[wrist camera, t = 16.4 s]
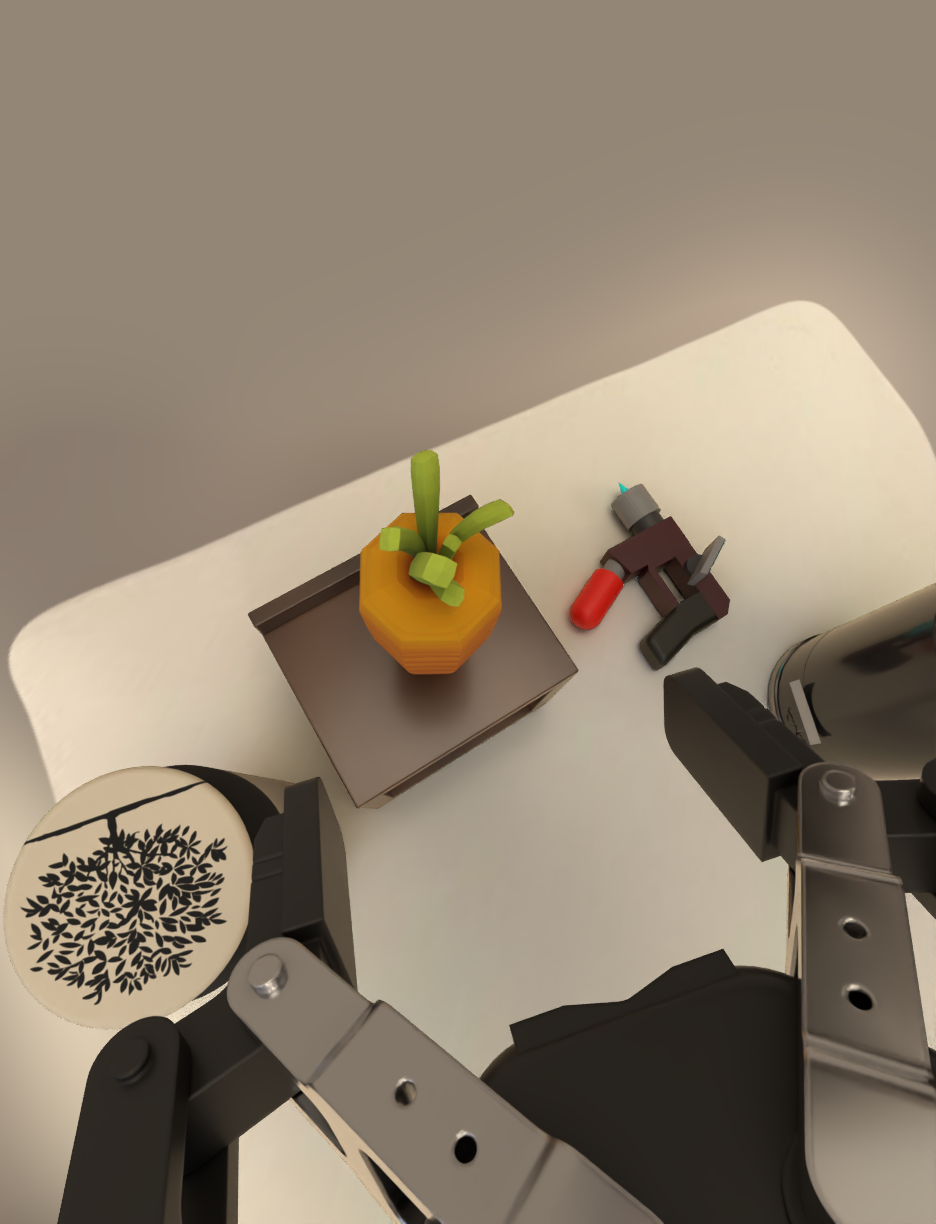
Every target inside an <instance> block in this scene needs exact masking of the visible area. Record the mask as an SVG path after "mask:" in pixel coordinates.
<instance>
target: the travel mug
mask: <svg viewBox="0 0 936 1224" xmlns="http://www.w3.org/2000/svg"><path fill="white" fill-rule="evenodd" d="M293 784H294V783H290V782H285V781H279V780H274V779H268V778H263V777H258V776H252V775H247V774H241V773H236V772H230V771H225V770H220V769H214V768H209V767H203V766H196V765H174V766H167V767H156V766H142V767H132V768H127V769H122V770H118V771H114V772H111V773H108V774H105V775H103V776H100V777H97V778H95V779H93V780H91V781H89V782H87V783H85V784H84V785H82V786H80V787H79V788H77V789H75V790H74V791H72V792H71V793H70V794H68V795H67V796H66V797H64V798H63V799H62V800H61V801H59V802H58V803H57V804H56V805H55V806H54V807H53V808H52V809H51V810H50V811H49V812H48V813H47V814H46V815H45V816H44V817H43V818H42V820H41V821H40V822H39V823H38V824H37V826H36V827H35V828H34V830H33V831H32V832H31V834H30V835H29V837H28V838H27V840H26V842H25V843H24V845H23V847H22V849H21V851H20V853H19V855H18V857H17V859H16V861H15V864H14V867H13V869H12V872H11V875H10V878H9V882H8V885H7V891H6V895H5V903H4V935H5V940H6V946H7V950H8V954H9V957H10V960H11V963H12V965H13V967H14V970H15V972H16V974H17V976H18V977H19V979H20V981H21V983H22V984H23V985H24V986H25V988H26V989H27V991H28V992H29V993H30V994H31V995H32V997H33V998H34V999H35V1000H37V1002H38V1003H40V1004H41V1005H42V1006H43V1007H45V1008H46V1009H47V1010H48V1011H50V1012H51V1013H53V1014H55V1015H56V1016H58V1017H60V1018H62V1019H64V1020H66V1021H69V1022H71V1023H74V1024H77V1025H80V1026H85V1027H89V1028H96V1029H123V1028H124V1027H126V1026H128V1025H129V1024H131V1023H133V1022H135V1021H137V1020H139V1019H142V1018H145V1017H150V1016H162V1017H165V1016H167V1015H170V1014H172V1013H173V1012H175V1011H177V1010H179V1009H180V1008H182V1007H184V1006H185V1005H186V1004H188V1003H189V1002H191V1001H193V1000H195V999H198V998H200V997H203V996H205V995H207V994H209V993H210V992H212V991H214V990H216V989H217V988H219V987H220V986H222V985H224V984H225V983H226V982H228V981H229V978H230V976H231V973H232V971H233V970H234V968H235V966H236V965H237V963H238V962H239V961H240V959H241V958H242V957H243V956H244V955H245V951H246V943H247V929H248V916H249V902H250V889H251V883H252V879H251V875H252V865H253V848H254V839H255V837H256V835H257V833H258V831H259V829H260V827H261V826H262V824H263V822H264V820H265V818H267V817H271V816H274V815H277V814H281V813H284V789H285V787H286V786H289V785H293Z"/></svg>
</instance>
